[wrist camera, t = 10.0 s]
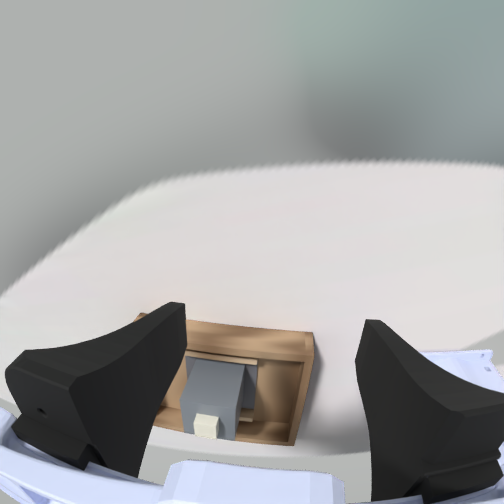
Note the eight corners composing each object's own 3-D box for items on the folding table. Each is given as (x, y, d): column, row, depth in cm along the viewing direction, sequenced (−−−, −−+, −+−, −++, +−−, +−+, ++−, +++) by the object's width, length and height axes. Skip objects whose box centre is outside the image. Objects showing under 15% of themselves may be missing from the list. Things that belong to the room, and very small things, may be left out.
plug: (245, 364, 25) (233, 418, 19) (243, 398, 26) (232, 450, 20) (196, 358, 25) (175, 409, 19) (199, 391, 26) (181, 441, 21)
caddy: (312, 332, 24) (314, 355, 21) (294, 422, 27) (293, 446, 25) (140, 312, 25) (125, 331, 22) (155, 403, 29) (146, 423, 26)
